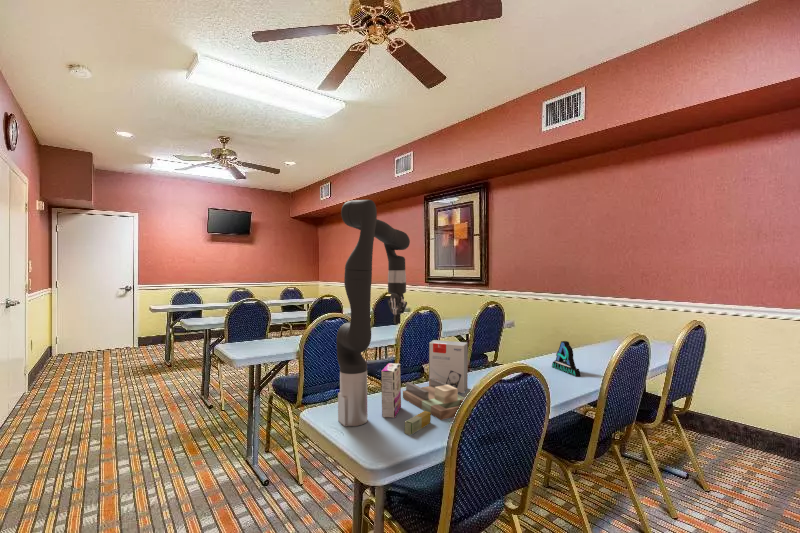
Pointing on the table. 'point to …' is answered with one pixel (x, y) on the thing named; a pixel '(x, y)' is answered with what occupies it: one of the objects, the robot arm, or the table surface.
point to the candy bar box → (391, 390)
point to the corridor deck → (431, 400)
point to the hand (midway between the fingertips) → (397, 323)
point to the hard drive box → (449, 363)
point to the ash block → (446, 394)
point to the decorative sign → (567, 355)
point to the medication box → (417, 422)
